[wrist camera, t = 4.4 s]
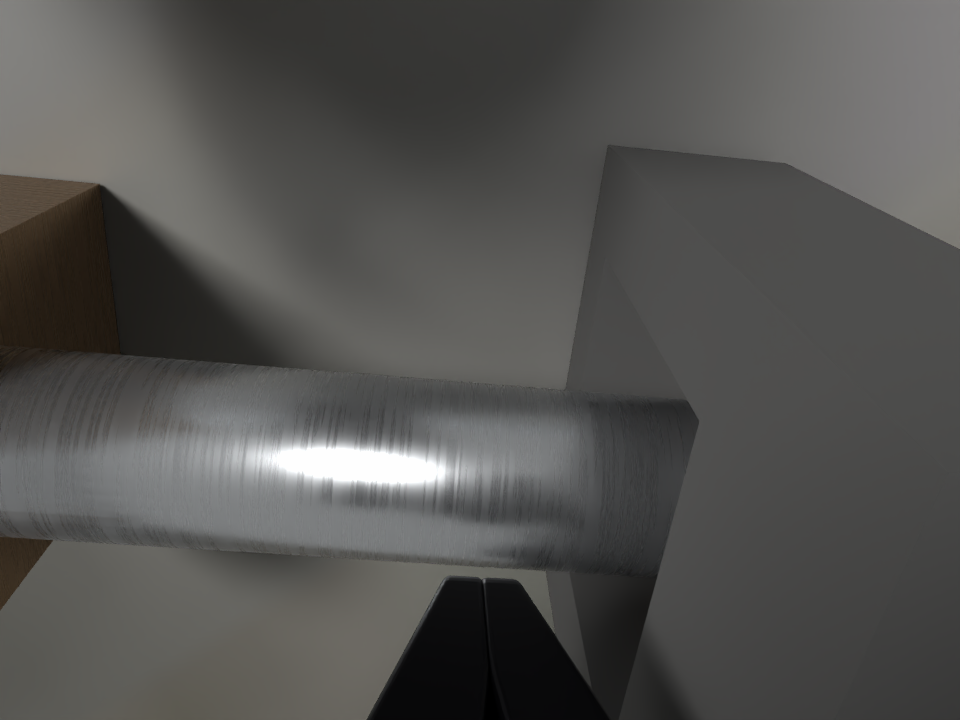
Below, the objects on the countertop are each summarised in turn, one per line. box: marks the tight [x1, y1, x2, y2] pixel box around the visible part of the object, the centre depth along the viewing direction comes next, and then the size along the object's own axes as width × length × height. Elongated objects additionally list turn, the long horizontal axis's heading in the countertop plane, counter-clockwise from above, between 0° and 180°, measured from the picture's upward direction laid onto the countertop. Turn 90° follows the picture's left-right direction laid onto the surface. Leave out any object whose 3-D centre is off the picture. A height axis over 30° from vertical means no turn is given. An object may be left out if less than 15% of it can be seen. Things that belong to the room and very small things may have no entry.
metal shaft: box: [0, 175, 699, 610], centre depth 11 cm, size 19×5×5 cm, turn 84°
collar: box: [546, 145, 960, 720], centre depth 10 cm, size 3×8×9 cm, turn 174°
